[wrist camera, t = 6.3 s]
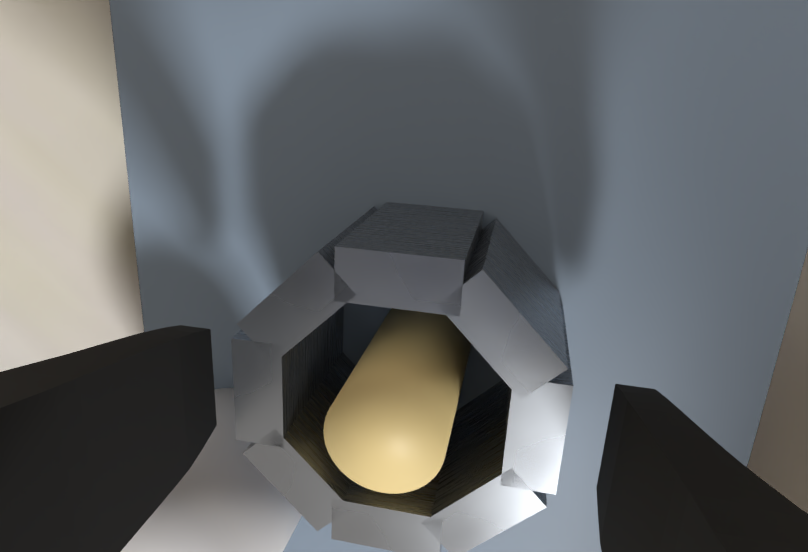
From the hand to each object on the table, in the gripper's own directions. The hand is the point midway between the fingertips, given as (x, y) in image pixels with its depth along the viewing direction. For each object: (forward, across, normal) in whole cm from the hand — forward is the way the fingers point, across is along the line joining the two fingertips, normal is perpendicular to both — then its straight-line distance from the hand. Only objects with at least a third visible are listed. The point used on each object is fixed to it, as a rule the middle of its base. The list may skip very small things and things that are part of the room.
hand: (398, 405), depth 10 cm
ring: (+3, 0, 0) cm, 3 cm away
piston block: (+4, 0, 0) cm, 4 cm away
